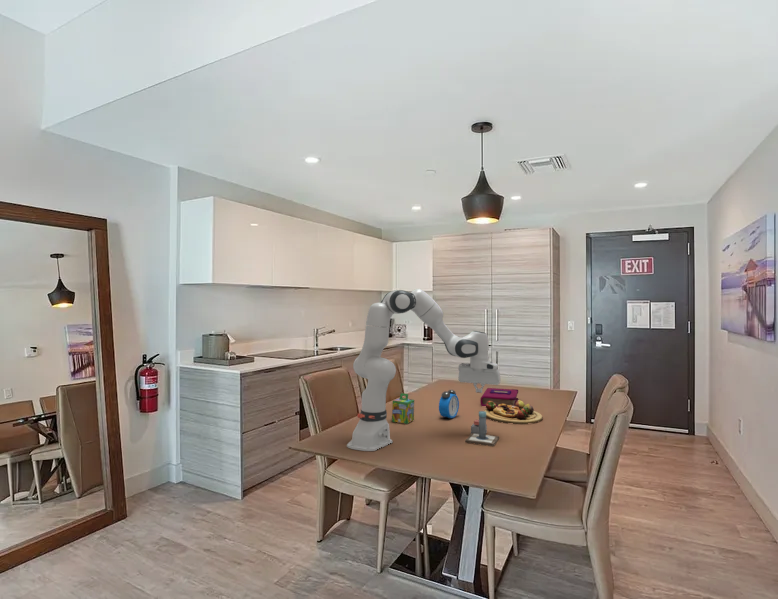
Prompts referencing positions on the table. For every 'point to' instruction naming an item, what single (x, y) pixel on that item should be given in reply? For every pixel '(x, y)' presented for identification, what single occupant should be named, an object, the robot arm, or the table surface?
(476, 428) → the button box
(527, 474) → the table surface
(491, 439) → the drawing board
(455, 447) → the table surface
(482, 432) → the joystick
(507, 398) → the book
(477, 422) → the button
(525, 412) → the wooden plate with food
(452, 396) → the alarm clock
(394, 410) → the chalk box
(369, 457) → the table surface
